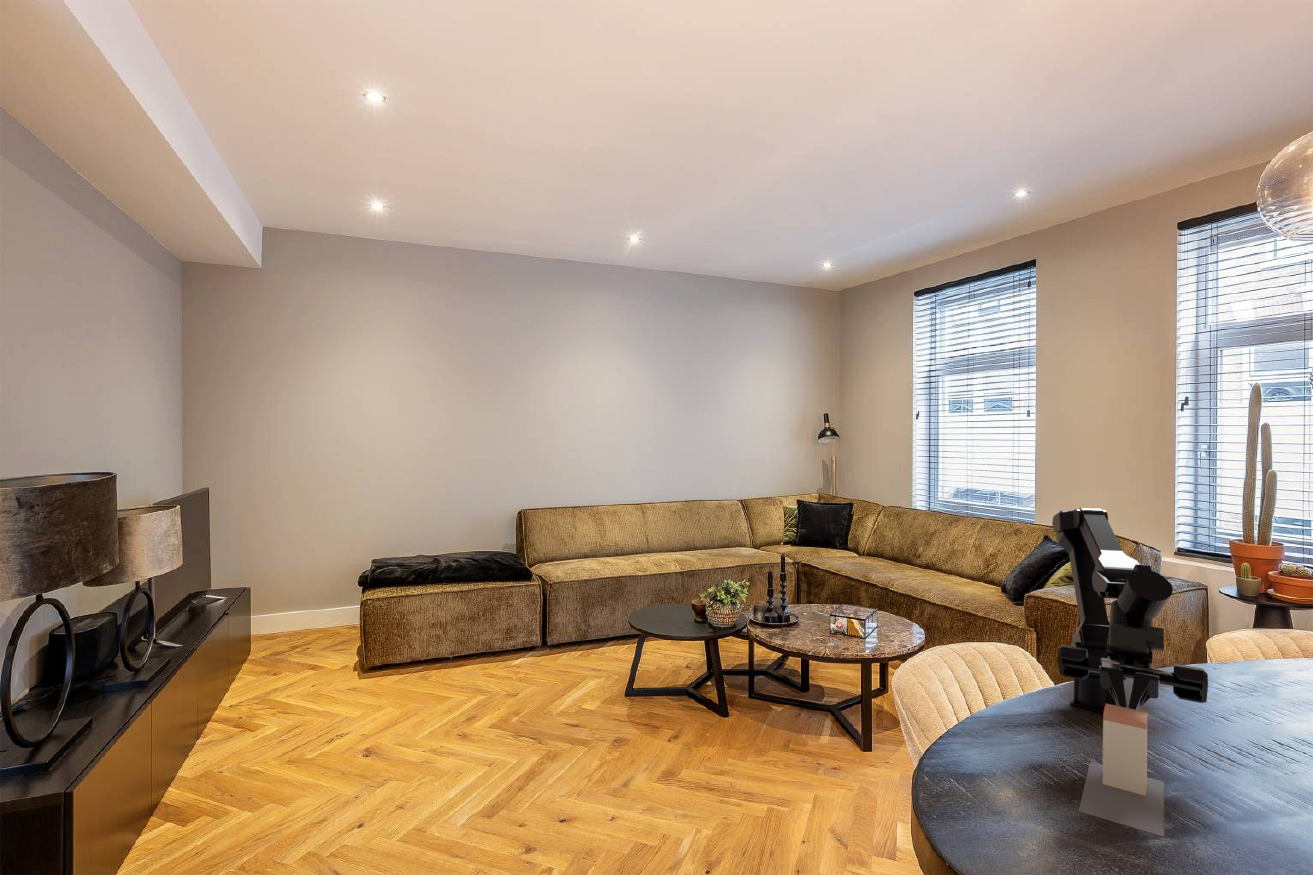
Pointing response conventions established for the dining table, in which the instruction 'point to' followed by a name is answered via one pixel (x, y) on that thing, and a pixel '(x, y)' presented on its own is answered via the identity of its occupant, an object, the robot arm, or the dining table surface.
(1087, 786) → the charcoal mat
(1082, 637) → the robot arm
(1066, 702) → the dining table surface
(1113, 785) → the cream block
